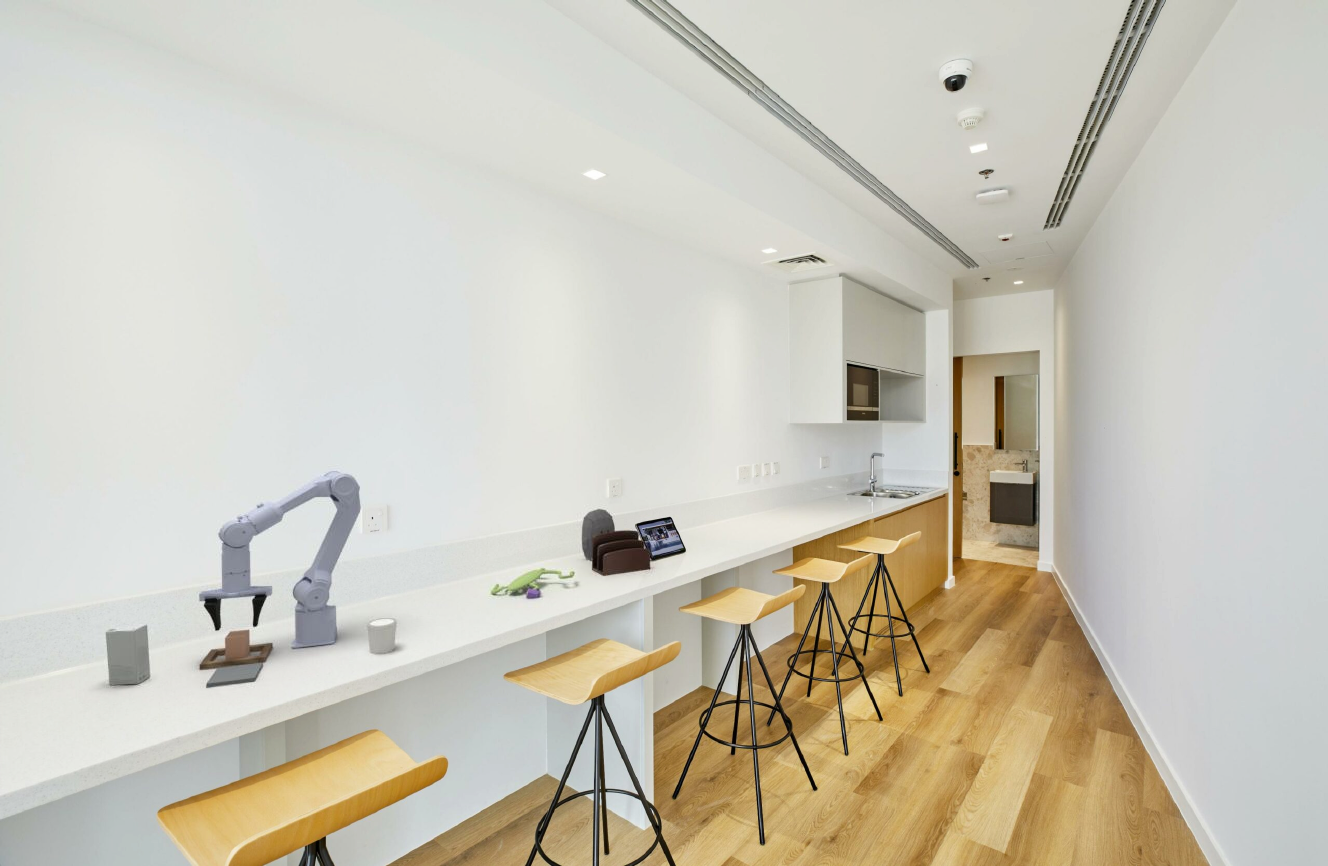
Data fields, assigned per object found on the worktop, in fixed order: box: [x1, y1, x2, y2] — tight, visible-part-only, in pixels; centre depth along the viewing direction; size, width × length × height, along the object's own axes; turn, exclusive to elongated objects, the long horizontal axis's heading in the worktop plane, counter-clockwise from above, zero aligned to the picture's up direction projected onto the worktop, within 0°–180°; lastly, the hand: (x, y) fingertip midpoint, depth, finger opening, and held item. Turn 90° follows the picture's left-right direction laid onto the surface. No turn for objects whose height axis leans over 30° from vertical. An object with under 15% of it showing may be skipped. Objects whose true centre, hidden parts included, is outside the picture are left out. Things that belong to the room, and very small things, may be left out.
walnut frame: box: [199, 642, 274, 671], centre depth 157 cm, size 13×10×1 cm
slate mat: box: [205, 662, 264, 688], centre depth 146 cm, size 9×9×1 cm
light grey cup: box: [366, 617, 398, 655], centre depth 163 cm, size 7×7×7 cm
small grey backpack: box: [581, 508, 616, 560], centre depth 261 cm, size 15×8×20 cm, turn 130°
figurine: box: [490, 567, 575, 599], centre depth 218 cm, size 18×27×6 cm
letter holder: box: [591, 529, 651, 577], centre depth 244 cm, size 10×20×14 cm, turn 122°
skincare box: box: [105, 624, 151, 686], centre depth 143 cm, size 6×4×12 cm
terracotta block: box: [224, 629, 251, 660], centre depth 157 cm, size 4×5×6 cm
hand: (237, 627), depth 156 cm, fingers open, 7 cm apart
